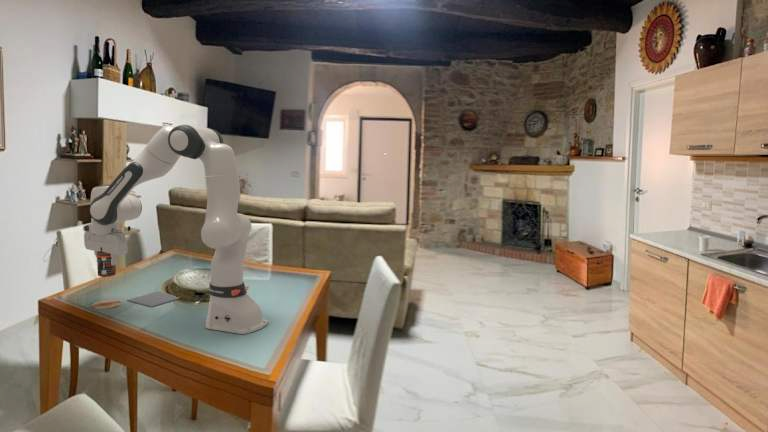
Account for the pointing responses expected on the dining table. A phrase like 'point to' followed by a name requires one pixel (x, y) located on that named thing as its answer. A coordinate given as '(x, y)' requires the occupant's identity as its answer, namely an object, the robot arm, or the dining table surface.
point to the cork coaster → (106, 304)
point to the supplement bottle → (105, 265)
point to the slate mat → (153, 299)
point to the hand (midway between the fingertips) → (106, 263)
